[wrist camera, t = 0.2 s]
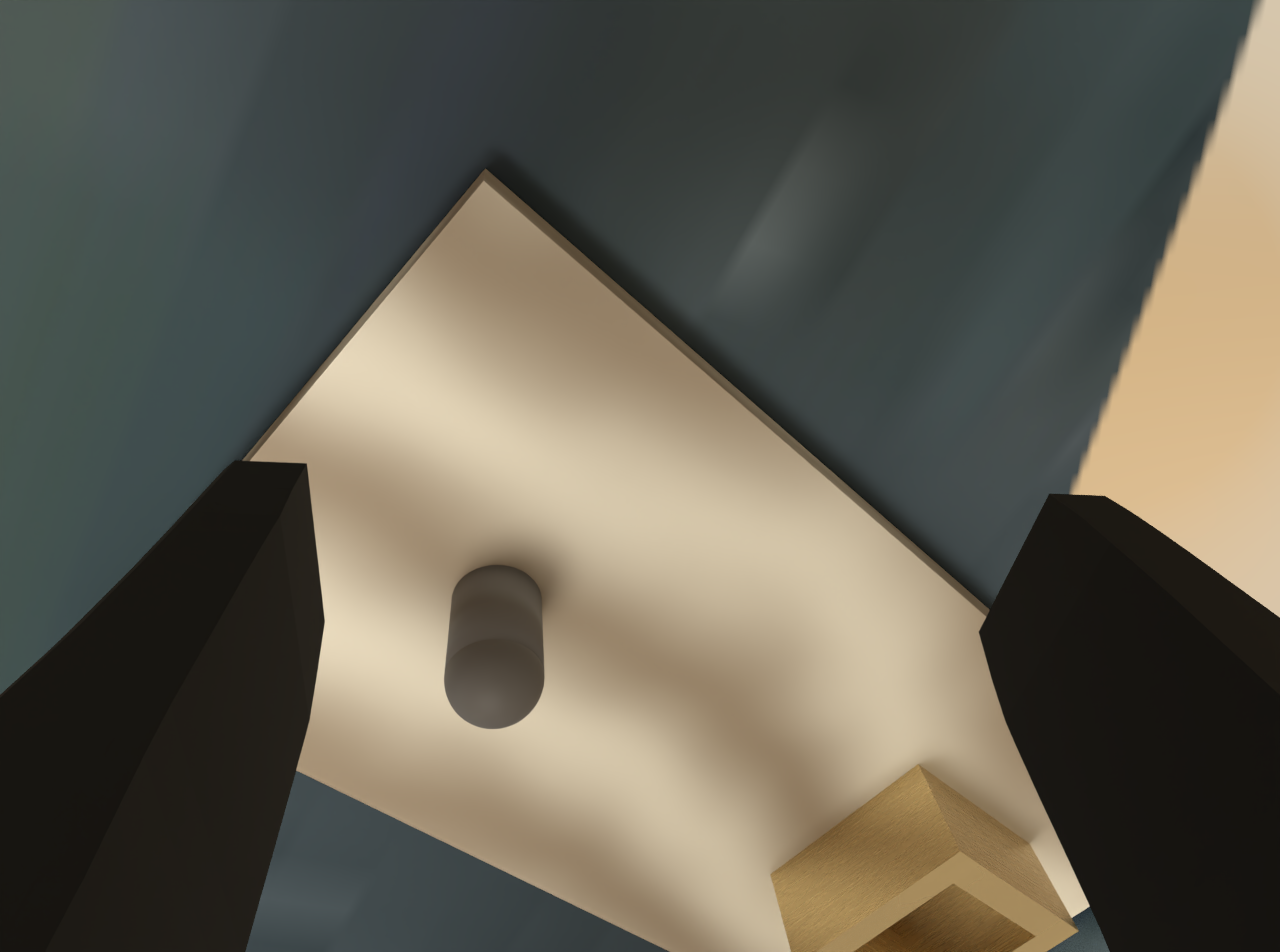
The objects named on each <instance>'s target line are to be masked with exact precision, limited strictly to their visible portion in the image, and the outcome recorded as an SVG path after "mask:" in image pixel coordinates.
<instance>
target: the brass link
mask: <svg viewBox="0 0 1280 952" xmlns="http://www.w3.org/2000/svg"><path fill="white" fill-rule="evenodd" d="M770 875H771V879H772V883H773V886H774V890H775V894H776V898H777V901H778V905H779V909H780V912H781V916H782V920H783V924H784V927H785V931H786V935H787V939H788V942H789V946H790V950H791V952H1046V951H1048V950H1050V949H1051V948H1053V947H1054V946H1056V945H1057V944H1059V943H1061V942H1062V941H1064V940H1065V939H1067V938H1068V937H1070V936H1072V935H1073V934H1075V933H1076V932H1078V931H1079V930H1078V929H1077V927H1076V925H1075V923H1074V922H1073V920H1072V918H1071V916H1070V914H1069V913H1068V911H1067V909H1066V907H1065V906H1064V904H1063V902H1062V900H1061V898H1060V897H1059V895H1058V893H1057V891H1056V890H1055V888H1054V886H1053V884H1052V882H1051V881H1050V879H1049V877H1048V875H1047V873H1046V872H1045V870H1044V868H1043V866H1042V865H1041V863H1040V861H1039V859H1038V857H1037V856H1036V854H1035V852H1034V850H1033V849H1032V847H1031V845H1030V844H1029V843H1028V842H1027V841H1025V840H1024V839H1022V838H1021V837H1020V836H1018V835H1017V834H1015V833H1014V832H1013V831H1011V830H1010V829H1008V828H1007V827H1006V826H1004V825H1003V824H1001V823H1000V822H999V821H997V820H996V819H994V818H993V817H992V816H990V815H989V814H987V813H986V812H985V811H983V810H982V809H980V808H979V807H978V806H976V805H975V804H973V803H972V802H971V801H969V800H968V799H966V798H965V797H964V796H962V795H961V794H959V793H958V792H957V791H955V790H954V789H952V788H951V787H950V786H948V785H947V784H945V783H944V782H943V781H941V780H940V779H938V778H937V777H936V776H934V775H933V774H931V773H930V772H929V771H927V770H926V769H924V768H923V767H922V766H920V765H919V764H918V765H916V766H915V767H914V768H912V769H911V770H910V771H908V772H907V773H905V774H904V775H903V776H901V777H900V778H899V779H897V780H896V781H895V782H893V783H892V784H891V785H889V786H888V787H887V788H885V789H884V790H883V791H881V792H880V793H879V794H877V795H876V796H875V797H873V798H872V799H871V800H869V801H868V802H867V803H865V804H864V805H862V806H861V807H860V808H858V809H857V810H856V811H854V812H853V813H852V814H850V815H849V816H848V817H846V818H845V819H844V820H842V821H841V822H840V823H838V824H837V825H836V826H834V827H833V828H832V829H830V830H829V831H828V832H826V833H825V834H824V835H822V836H821V837H820V838H818V839H817V840H815V841H814V842H813V843H811V844H810V845H809V846H807V847H806V848H805V849H803V850H802V851H801V852H799V853H798V854H797V855H795V856H794V857H793V858H791V859H790V860H789V861H787V862H786V863H785V864H783V865H782V866H781V867H779V868H778V869H777V870H775V871H774V872H772V873H771V874H770Z"/></svg>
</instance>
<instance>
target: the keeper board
mask: <svg viewBox="0 0 1280 952" xmlns="http://www.w3.org/2000/svg"><path fill="white" fill-rule="evenodd" d="M242 461H262V462H287V463H307V469H308V477H309V486H310V495H311V504H312V513H313V521H314V530H315V539H316V548H317V556H318V565H319V574H320V583H321V591H322V600H323V609H324V618H325V624H324V631H323V638H322V644H321V651H320V658H319V665H318V671H317V678H316V684H315V690H314V696H313V702H312V709H311V715H310V721H309V725H308V728H307V732H306V736H305V740H304V743H303V747H302V751H301V754H300V758H299V761H298V765H297V769H296V770H297V771H299V772H301V773H303V774H305V775H307V776H309V777H311V778H313V779H315V780H317V781H319V782H321V783H324V784H326V785H328V786H330V787H332V788H334V789H336V790H338V791H340V792H342V793H344V794H346V795H348V796H350V797H352V798H354V799H357V800H359V801H361V802H363V803H365V804H367V805H369V806H371V807H373V808H375V809H377V810H379V811H381V812H383V813H385V814H387V815H389V816H392V817H394V818H396V819H398V820H400V821H402V822H404V823H406V824H408V825H410V826H412V827H414V828H416V829H418V830H420V831H422V832H424V833H427V834H429V835H431V836H433V837H435V838H437V839H439V840H441V841H443V842H445V843H447V844H449V845H451V846H453V847H455V848H457V849H460V850H462V851H464V852H466V853H468V854H470V855H472V856H474V857H476V858H478V859H480V860H482V861H484V862H486V863H488V864H490V865H492V866H495V867H497V868H499V869H501V870H503V871H505V872H507V873H509V874H511V875H513V876H515V877H517V878H519V879H521V880H523V881H525V882H527V883H530V884H532V885H534V886H536V887H538V888H540V889H542V890H544V891H546V892H548V893H550V894H552V895H554V896H556V897H558V898H560V899H563V900H565V901H567V902H569V903H571V904H573V905H575V906H577V907H579V908H581V909H583V910H585V911H587V912H589V913H591V914H593V915H595V916H598V917H600V918H602V919H604V920H606V921H608V922H610V923H612V924H614V925H616V926H618V927H620V928H622V929H624V930H626V931H628V932H630V933H633V934H635V935H637V936H639V937H641V938H643V939H645V940H647V941H649V942H651V943H653V944H655V945H657V946H659V947H661V948H663V949H666V950H668V951H670V952H791V950H790V946H789V942H788V939H787V935H786V931H785V927H784V924H783V920H782V916H781V912H780V909H779V905H778V901H777V898H776V894H775V890H774V886H773V883H772V879H771V875H770V874H771V873H772V872H774V871H775V870H777V869H778V868H779V867H781V866H782V865H783V864H785V863H786V862H787V861H789V860H790V859H791V858H793V857H794V856H795V855H797V854H798V853H799V852H801V851H802V850H803V849H805V848H806V847H807V846H809V845H810V844H811V843H813V842H814V841H815V840H817V839H818V838H820V837H821V836H822V835H824V834H825V833H826V832H828V831H829V830H830V829H832V828H833V827H834V826H836V825H837V824H838V823H840V822H841V821H842V820H844V819H845V818H846V817H848V816H849V815H850V814H852V813H853V812H854V811H856V810H857V809H858V808H860V807H861V806H862V805H864V804H865V803H867V802H868V801H869V800H871V799H872V798H873V797H875V796H876V795H877V794H879V793H880V792H881V791H883V790H884V789H885V788H887V787H888V786H889V785H891V784H892V783H893V782H895V781H896V780H897V779H899V778H900V777H901V776H903V775H904V774H905V773H907V772H908V771H910V770H911V769H912V768H914V767H915V766H916V765H918V764H919V765H920V766H922V767H923V768H924V769H926V770H927V771H929V772H930V773H931V774H933V775H934V776H936V777H937V778H938V779H940V780H941V781H943V782H944V783H945V784H947V785H948V786H950V787H951V788H952V789H954V790H955V791H957V792H958V793H959V794H961V795H962V796H964V797H965V798H966V799H968V800H969V801H971V802H972V803H973V804H975V805H976V806H978V807H979V808H980V809H982V810H983V811H985V812H986V813H987V814H989V815H990V816H992V817H993V818H994V819H996V820H997V821H999V822H1000V823H1001V824H1003V825H1004V826H1006V827H1007V828H1008V829H1010V830H1011V831H1013V832H1014V833H1015V834H1017V835H1018V836H1020V837H1021V838H1022V839H1024V840H1025V841H1027V842H1028V843H1029V844H1030V845H1031V847H1032V849H1033V850H1034V852H1035V854H1036V856H1037V857H1038V859H1039V861H1040V863H1041V865H1042V866H1043V868H1044V870H1045V872H1046V873H1047V875H1048V877H1049V879H1050V881H1051V882H1052V884H1053V886H1054V888H1055V890H1056V891H1057V893H1058V895H1059V897H1060V898H1061V900H1062V902H1063V904H1064V906H1065V907H1066V909H1067V911H1068V913H1069V914H1070V916H1071V918H1072V917H1074V916H1075V915H1077V914H1078V913H1080V912H1082V911H1083V910H1085V909H1086V908H1088V907H1089V906H1090V905H1089V903H1088V901H1087V899H1086V897H1085V895H1084V892H1083V890H1082V888H1081V886H1080V884H1079V882H1078V880H1077V877H1076V875H1075V873H1074V871H1073V869H1072V867H1071V864H1070V862H1069V860H1068V858H1067V856H1066V854H1065V852H1064V849H1063V847H1062V845H1061V843H1060V841H1059V839H1058V837H1057V834H1056V832H1055V830H1054V828H1053V826H1052V824H1051V821H1050V819H1049V817H1048V815H1047V813H1046V811H1045V809H1044V806H1043V804H1042V802H1041V800H1040V798H1039V796H1038V794H1037V791H1036V789H1035V787H1034V785H1033V782H1032V780H1031V778H1030V776H1029V774H1028V771H1027V769H1026V767H1025V765H1024V763H1023V760H1022V758H1021V756H1020V754H1019V751H1018V749H1017V747H1016V745H1015V743H1014V740H1013V738H1012V736H1011V733H1010V731H1009V729H1008V726H1007V724H1006V722H1005V719H1004V716H1003V713H1002V709H1001V706H1000V703H999V700H998V697H997V694H996V691H995V688H994V685H993V682H992V678H991V675H990V671H989V667H988V664H987V660H986V657H985V653H984V649H983V646H982V642H981V639H980V635H979V630H980V628H981V626H982V624H983V622H984V621H985V619H986V617H987V615H988V613H989V611H990V610H989V609H988V608H987V607H986V606H985V605H984V604H983V603H981V602H980V601H979V600H978V599H977V598H976V597H975V596H973V595H972V594H971V593H970V592H969V591H968V590H967V589H965V588H964V587H963V586H962V585H961V584H960V583H959V582H957V581H956V580H955V579H954V578H953V577H952V576H951V575H949V574H948V573H947V572H946V571H945V570H944V569H943V568H941V567H940V566H939V565H938V564H937V563H936V562H935V561H933V560H932V559H931V558H930V557H929V556H928V555H927V554H925V553H924V552H923V551H922V550H921V549H920V548H919V547H917V546H916V545H915V544H914V543H913V542H912V541H911V540H909V539H908V538H907V537H906V536H905V535H904V534H903V533H901V532H900V531H899V530H898V529H897V528H896V527H895V526H893V525H892V524H891V523H890V522H889V521H888V520H887V519H885V518H884V517H883V516H882V515H881V514H880V513H879V512H877V511H876V510H875V509H874V508H873V507H872V506H871V505H869V504H868V503H867V502H866V501H865V500H864V499H863V498H861V497H860V496H859V495H858V494H857V493H856V492H855V491H853V490H852V489H851V488H850V487H849V486H848V485H847V484H845V483H844V482H843V481H842V480H841V479H840V478H839V477H837V476H836V475H835V474H834V473H833V472H832V471H831V470H829V469H828V468H827V467H826V466H825V465H824V464H823V463H821V462H820V461H819V460H818V459H817V458H816V457H815V456H813V455H812V454H811V453H810V452H809V451H808V450H807V449H805V448H804V447H803V446H802V445H801V444H800V443H799V442H797V441H796V440H795V439H794V438H793V437H792V436H791V435H789V434H788V433H787V432H786V431H785V430H784V429H783V428H781V427H780V426H779V425H778V424H777V423H776V422H775V421H773V420H772V419H771V418H770V417H769V416H768V415H767V414H765V413H764V412H763V411H762V410H761V409H760V408H759V407H757V406H756V405H755V404H754V403H753V402H752V401H751V400H749V399H748V398H747V397H746V396H745V395H744V394H743V393H741V392H740V391H739V390H738V389H737V388H736V387H735V386H733V385H732V384H731V383H730V382H729V381H728V380H727V379H725V378H724V377H723V376H722V375H721V374H720V373H719V372H717V371H716V370H715V369H714V368H713V367H712V366H711V365H709V364H708V363H707V362H706V361H705V360H704V359H703V358H701V357H700V356H699V355H698V354H697V353H696V352H695V351H693V350H692V349H691V348H690V347H689V346H688V345H687V344H685V343H684V342H683V341H682V340H681V339H680V338H679V337H677V336H676V335H675V334H674V333H673V332H672V331H671V330H669V329H668V328H667V327H666V326H665V325H664V324H663V323H661V322H660V321H659V320H658V319H657V318H656V317H655V316H653V315H652V314H651V313H650V312H649V311H648V310H647V309H645V308H644V307H643V306H642V305H641V304H640V303H639V302H637V301H636V300H635V299H634V298H633V297H632V296H631V295H629V294H628V293H627V292H626V291H625V290H624V289H623V288H621V287H620V286H619V285H618V284H617V283H616V282H615V281H613V280H612V279H611V278H610V277H609V276H608V275H607V274H606V273H604V272H603V271H602V270H601V269H600V268H599V267H598V266H596V265H595V264H594V263H593V262H592V261H591V260H590V259H588V258H587V257H586V256H585V255H584V254H583V253H582V252H580V251H579V250H578V249H577V248H576V247H575V246H574V245H572V244H571V243H570V242H569V241H568V240H567V239H566V238H564V237H563V236H562V235H561V234H560V233H559V232H558V231H556V230H555V229H554V228H553V227H552V226H551V225H550V224H548V223H547V222H546V221H545V220H544V219H543V218H542V217H540V216H539V215H538V214H537V213H536V212H535V211H534V210H532V209H531V208H530V207H529V206H528V205H527V204H526V203H524V202H523V201H522V200H521V199H520V198H519V197H518V196H516V195H515V194H514V193H513V192H512V191H511V190H510V189H508V188H507V187H506V186H505V185H504V184H503V183H502V182H500V181H499V180H498V179H497V178H496V177H495V176H494V175H492V174H491V173H490V172H489V171H488V170H487V169H486V168H485V169H484V171H483V172H482V173H481V174H480V175H479V177H478V178H477V179H476V180H475V181H474V183H473V184H472V185H471V186H470V187H469V189H468V190H467V191H466V192H465V193H464V195H463V196H462V197H461V198H460V199H459V201H458V202H457V203H456V204H455V205H454V207H453V208H452V209H451V210H450V211H449V213H448V214H447V215H446V216H445V217H444V219H443V220H442V221H441V222H440V223H439V225H438V226H437V227H436V228H435V229H434V231H433V232H432V233H431V234H430V235H429V237H428V238H427V239H426V240H425V241H424V243H423V244H422V245H421V246H420V248H419V249H418V250H417V251H416V252H415V254H414V255H413V256H412V257H411V258H410V260H409V261H408V262H407V263H406V264H405V266H404V267H403V268H402V269H401V270H400V272H399V273H398V274H397V275H396V276H395V278H394V279H393V280H392V281H391V282H390V284H389V285H388V286H387V287H386V288H385V290H384V291H383V292H382V293H381V294H380V296H379V297H378V298H377V299H376V300H375V302H374V303H373V304H372V305H371V306H370V308H369V309H368V310H367V311H366V312H365V314H364V315H363V316H362V317H361V318H360V320H359V321H358V322H357V323H356V324H355V326H354V327H353V328H352V329H351V330H350V332H349V333H348V334H347V335H346V336H345V338H344V339H343V340H342V341H341V342H340V344H339V345H338V346H337V347H336V348H335V350H334V351H333V352H332V353H331V354H330V356H329V357H328V358H327V359H326V360H325V362H324V363H323V364H322V365H321V366H320V368H319V369H318V370H317V371H316V372H315V374H314V375H313V376H312V377H311V378H310V380H309V381H308V382H307V383H306V384H305V386H304V387H303V388H302V389H301V390H300V392H299V393H298V394H297V395H296V396H295V398H294V399H293V400H292V401H291V402H290V404H289V405H288V406H287V407H286V408H285V410H284V411H283V412H282V413H281V414H280V416H279V417H278V418H277V419H276V420H275V422H274V423H273V424H272V425H271V426H270V428H269V429H268V430H267V431H266V432H265V434H264V435H263V436H262V437H261V438H260V440H259V441H258V442H257V443H256V445H255V446H254V447H253V448H252V449H251V451H250V452H249V453H248V454H247V455H246V457H245V458H244V459H243V460H242Z"/></svg>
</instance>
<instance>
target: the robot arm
mask: <svg viewBox="0 0 1280 952" xmlns="http://www.w3.org/2000/svg"><path fill="white" fill-rule="evenodd" d="M324 624H325V618H324V609H323V600H322V591H321V583H320V574H319V565H318V556H317V548H316V539H315V530H314V521H313V513H312V504H311V495H310V486H309V477H308V469H307V463H287V462H262V461H238V460H235V461H234V462H233V463H232V464H231V465H229V466H228V467H227V468H226V469H224V470H223V471H222V472H221V474H220V475H219V476H218V477H217V478H216V479H215V480H214V481H213V482H212V483H211V484H210V485H209V487H208V488H207V489H206V490H205V491H204V492H203V493H202V494H201V495H200V496H199V497H198V499H197V500H196V501H195V502H194V503H193V504H192V505H191V506H190V507H189V508H188V509H187V511H186V512H185V513H184V514H183V515H182V516H181V517H180V518H179V519H178V520H177V521H176V522H175V524H174V525H173V526H172V527H171V528H170V529H169V530H168V531H167V532H166V533H165V534H164V535H163V536H162V537H161V538H160V540H159V541H158V542H157V543H156V544H155V545H154V546H153V547H152V548H151V549H150V550H149V551H148V552H147V553H146V554H145V555H144V556H143V557H142V558H141V559H140V561H139V562H138V563H137V564H136V565H135V566H134V567H133V568H132V569H131V570H130V571H129V572H128V573H127V574H126V575H125V576H124V577H123V578H122V579H121V580H120V581H119V582H118V583H117V584H116V585H115V586H114V587H113V588H112V589H111V590H110V591H109V592H108V593H107V594H106V595H105V596H104V597H103V598H102V599H101V600H100V601H99V602H98V603H97V604H96V605H95V606H94V607H93V608H92V609H91V610H90V611H89V612H88V613H87V614H86V615H85V616H84V617H83V618H82V619H81V620H80V621H79V622H78V623H77V624H76V625H75V626H74V627H73V628H72V629H71V630H70V631H69V632H68V633H67V634H66V635H65V636H64V637H63V638H62V639H61V640H60V641H58V642H57V643H56V644H55V645H54V646H53V647H52V648H51V649H50V650H49V651H48V652H47V653H46V654H45V655H44V656H42V657H41V658H40V659H39V660H38V661H37V662H36V663H35V664H34V665H33V666H31V667H30V668H29V669H28V670H27V671H26V672H25V673H24V674H23V675H22V676H20V677H19V678H18V679H17V680H16V681H15V682H14V683H13V684H12V685H11V686H9V687H8V688H7V689H6V690H5V691H4V692H3V693H2V694H1V695H0V952H245V951H246V947H247V943H248V940H249V936H250V933H251V929H252V926H253V922H254V919H255V915H256V911H257V908H258V904H259V901H260V897H261V894H262V890H263V887H264V883H265V879H266V876H267V872H268V869H269V865H270V862H271V858H272V855H273V851H274V847H275V844H276V840H277V837H278V833H279V830H280V826H281V823H282V819H283V816H284V812H285V808H286V805H287V801H288V798H289V794H290V790H291V787H292V783H293V780H294V776H295V772H296V769H297V765H298V761H299V758H300V754H301V751H302V747H303V743H304V740H305V736H306V732H307V728H308V725H309V721H310V715H311V709H312V702H313V696H314V690H315V684H316V678H317V671H318V665H319V658H320V651H321V644H322V638H323V631H324ZM979 635H980V639H981V642H982V646H983V649H984V653H985V657H986V660H987V664H988V667H989V671H990V675H991V678H992V682H993V685H994V688H995V691H996V694H997V697H998V700H999V703H1000V706H1001V709H1002V713H1003V716H1004V719H1005V722H1006V724H1007V726H1008V729H1009V731H1010V733H1011V736H1012V738H1013V740H1014V743H1015V745H1016V747H1017V749H1018V751H1019V754H1020V756H1021V758H1022V760H1023V763H1024V765H1025V767H1026V769H1027V771H1028V774H1029V776H1030V778H1031V780H1032V782H1033V785H1034V787H1035V789H1036V791H1037V794H1038V796H1039V798H1040V800H1041V802H1042V804H1043V806H1044V809H1045V811H1046V813H1047V815H1048V817H1049V819H1050V821H1051V824H1052V826H1053V828H1054V830H1055V832H1056V834H1057V837H1058V839H1059V841H1060V843H1061V845H1062V847H1063V849H1064V852H1065V854H1066V856H1067V858H1068V860H1069V862H1070V864H1071V867H1072V869H1073V871H1074V873H1075V875H1076V877H1077V880H1078V882H1079V884H1080V886H1081V888H1082V890H1083V892H1084V895H1085V897H1086V899H1087V901H1088V903H1089V905H1090V908H1091V910H1092V912H1093V914H1094V916H1095V918H1096V920H1097V923H1098V925H1099V927H1100V929H1101V931H1102V934H1103V936H1104V939H1105V941H1106V943H1107V946H1108V948H1109V951H1110V952H1280V618H1279V617H1278V616H1277V615H1275V614H1274V613H1272V612H1271V611H1270V610H1268V609H1267V608H1266V607H1264V606H1263V605H1262V604H1260V603H1259V602H1257V601H1256V600H1255V599H1253V598H1252V597H1250V596H1249V595H1248V594H1246V593H1245V592H1244V591H1242V590H1241V589H1239V588H1238V587H1237V586H1235V585H1234V584H1233V583H1231V582H1230V581H1228V580H1227V579H1225V578H1224V577H1223V576H1222V575H1220V574H1219V573H1217V572H1216V571H1215V570H1213V569H1212V568H1211V567H1209V566H1208V565H1206V564H1205V563H1204V562H1202V561H1201V560H1199V559H1198V558H1196V557H1195V556H1194V555H1193V554H1191V553H1190V552H1188V551H1187V550H1186V549H1184V548H1183V547H1181V546H1180V545H1178V544H1177V543H1176V542H1174V541H1173V540H1171V539H1170V538H1169V537H1167V536H1166V535H1164V534H1163V533H1161V532H1160V531H1158V530H1157V529H1156V528H1154V527H1153V526H1151V525H1149V524H1148V523H1147V522H1145V521H1144V520H1142V519H1141V518H1139V517H1138V516H1136V515H1135V514H1133V513H1132V512H1130V511H1129V510H1127V509H1125V508H1124V507H1122V506H1120V505H1119V504H1117V503H1116V502H1114V501H1112V500H1111V499H1109V498H1107V497H1106V496H1092V495H1069V494H1049V496H1048V498H1047V499H1046V501H1045V503H1044V505H1043V507H1042V509H1041V511H1040V513H1039V515H1038V517H1037V519H1036V521H1035V523H1034V525H1033V527H1032V529H1031V531H1030V533H1029V535H1028V537H1027V539H1026V540H1025V542H1024V544H1023V546H1022V548H1021V550H1020V552H1019V554H1018V556H1017V558H1016V560H1015V562H1014V564H1013V566H1012V568H1011V570H1010V572H1009V574H1008V576H1007V578H1006V580H1005V581H1004V583H1003V585H1002V587H1001V589H1000V591H999V593H998V595H997V597H996V599H995V601H994V603H993V605H992V607H991V609H990V611H989V613H988V615H987V617H986V619H985V621H984V622H983V624H982V626H981V628H980V630H979Z"/></svg>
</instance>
